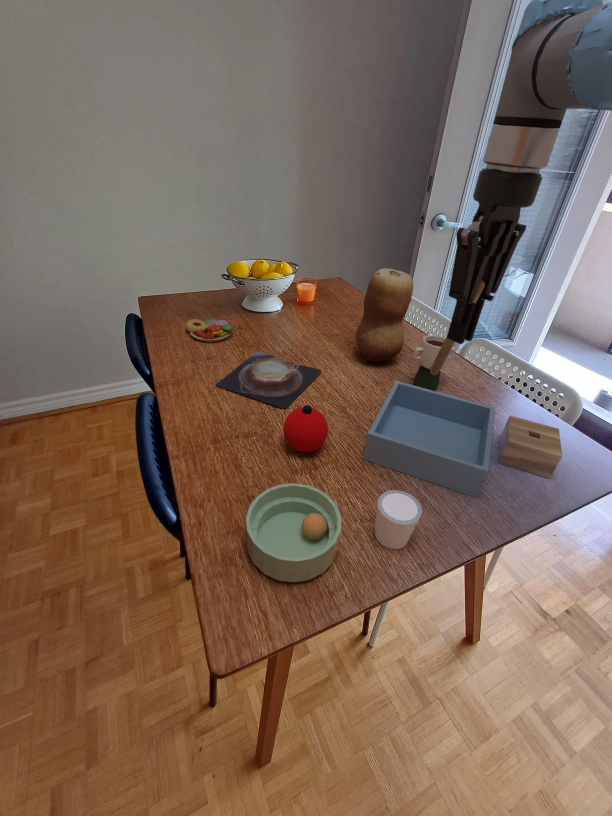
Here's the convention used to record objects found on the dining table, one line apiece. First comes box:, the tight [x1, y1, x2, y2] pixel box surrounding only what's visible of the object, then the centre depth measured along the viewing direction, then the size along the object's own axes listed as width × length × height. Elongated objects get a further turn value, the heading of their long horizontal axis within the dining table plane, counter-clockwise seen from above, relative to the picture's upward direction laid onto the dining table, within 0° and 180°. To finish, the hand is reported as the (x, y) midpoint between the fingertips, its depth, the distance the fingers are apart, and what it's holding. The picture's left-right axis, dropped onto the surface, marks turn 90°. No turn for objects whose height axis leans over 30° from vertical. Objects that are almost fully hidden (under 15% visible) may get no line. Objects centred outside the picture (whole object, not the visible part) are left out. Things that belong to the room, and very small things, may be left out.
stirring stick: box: [430, 280, 485, 375], centre depth 64 cm, size 2×2×18 cm
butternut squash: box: [355, 267, 414, 363], centre depth 108 cm, size 14×13×25 cm
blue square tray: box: [362, 380, 496, 499], centre depth 83 cm, size 22×22×7 cm
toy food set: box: [185, 317, 234, 343], centre depth 121 cm, size 13×13×3 cm
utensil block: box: [497, 415, 563, 480], centre depth 82 cm, size 10×10×6 cm
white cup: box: [374, 489, 423, 550], centre depth 63 cm, size 7×7×7 cm
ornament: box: [282, 404, 329, 453], centre depth 79 cm, size 9×9×10 cm
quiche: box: [215, 351, 322, 409], centre depth 102 cm, size 21×20×4 cm
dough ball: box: [302, 513, 327, 540], centre depth 62 cm, size 4×4×4 cm
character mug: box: [412, 334, 456, 391], centre depth 101 cm, size 11×7×13 cm, turn 99°
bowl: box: [245, 482, 343, 583], centre depth 61 cm, size 14×14×6 cm
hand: (459, 338), depth 64 cm, fingers closed on stirring stick, 1 cm apart
